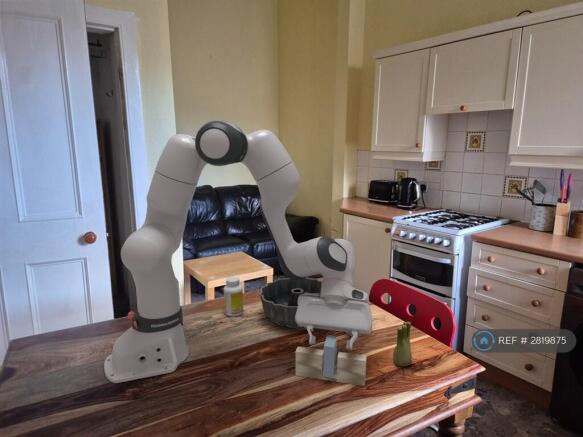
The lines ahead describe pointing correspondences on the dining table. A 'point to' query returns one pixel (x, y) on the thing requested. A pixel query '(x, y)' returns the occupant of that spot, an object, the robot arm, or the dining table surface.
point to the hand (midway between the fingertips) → (330, 346)
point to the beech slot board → (347, 371)
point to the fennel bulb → (403, 346)
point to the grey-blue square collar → (330, 356)
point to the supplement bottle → (233, 297)
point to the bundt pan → (286, 298)
